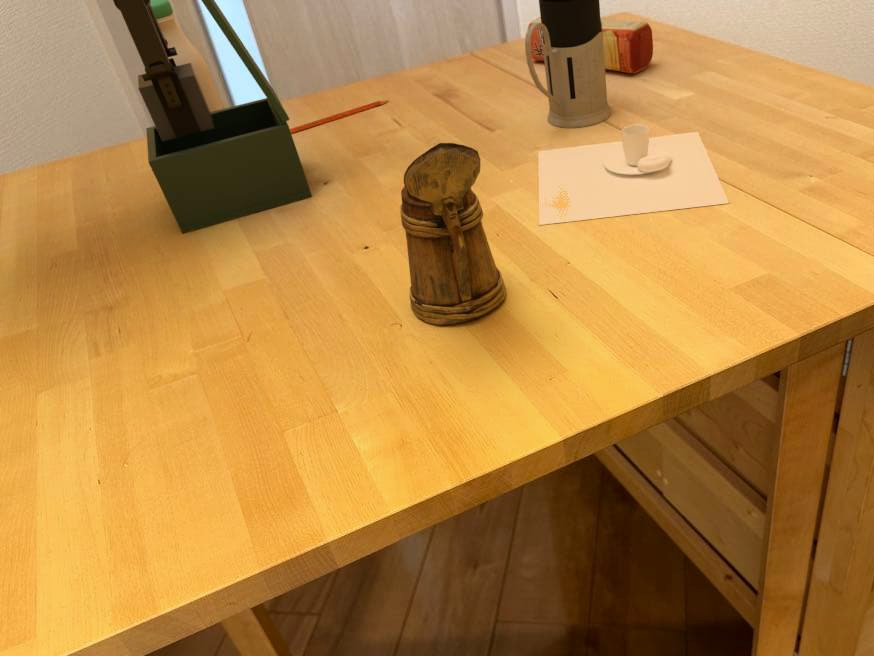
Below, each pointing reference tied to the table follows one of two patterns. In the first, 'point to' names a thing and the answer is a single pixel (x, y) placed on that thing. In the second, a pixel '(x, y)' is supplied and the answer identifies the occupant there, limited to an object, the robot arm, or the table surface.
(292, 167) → the chest
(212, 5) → the lid
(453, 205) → the wooden mug
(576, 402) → the table surface
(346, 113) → the pencil
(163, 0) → the milk bottle
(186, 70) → the block
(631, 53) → the snack package
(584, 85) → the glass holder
